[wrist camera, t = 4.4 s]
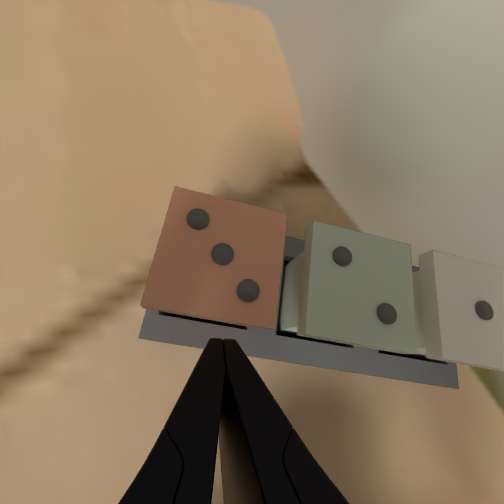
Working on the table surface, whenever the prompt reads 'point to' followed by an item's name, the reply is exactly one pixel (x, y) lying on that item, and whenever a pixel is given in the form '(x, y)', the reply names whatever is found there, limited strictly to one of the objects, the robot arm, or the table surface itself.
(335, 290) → the key two dots
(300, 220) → the table surface
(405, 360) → the key console
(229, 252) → the key three dots
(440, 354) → the key one dot
